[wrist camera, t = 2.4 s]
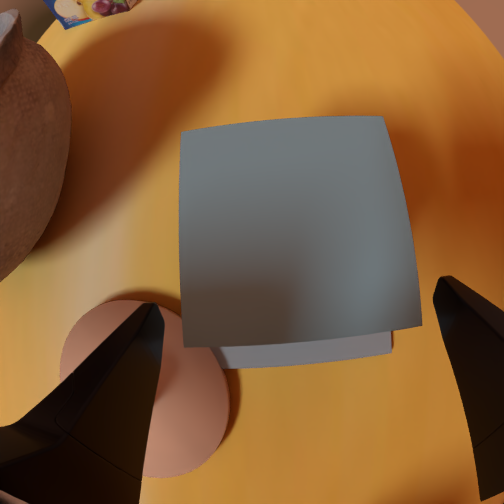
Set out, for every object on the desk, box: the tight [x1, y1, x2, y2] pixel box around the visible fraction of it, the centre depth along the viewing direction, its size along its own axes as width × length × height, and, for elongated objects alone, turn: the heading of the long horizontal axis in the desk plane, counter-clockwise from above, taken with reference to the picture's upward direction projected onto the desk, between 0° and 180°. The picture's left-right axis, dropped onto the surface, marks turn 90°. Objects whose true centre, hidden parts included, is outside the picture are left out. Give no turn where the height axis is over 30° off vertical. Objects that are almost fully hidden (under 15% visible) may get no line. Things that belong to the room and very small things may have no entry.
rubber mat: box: [210, 331, 392, 369], centre depth 19 cm, size 12×12×1 cm
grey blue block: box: [179, 116, 422, 348], centre depth 14 cm, size 7×7×10 cm
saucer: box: [60, 300, 230, 478], centre depth 16 cm, size 13×13×4 cm
